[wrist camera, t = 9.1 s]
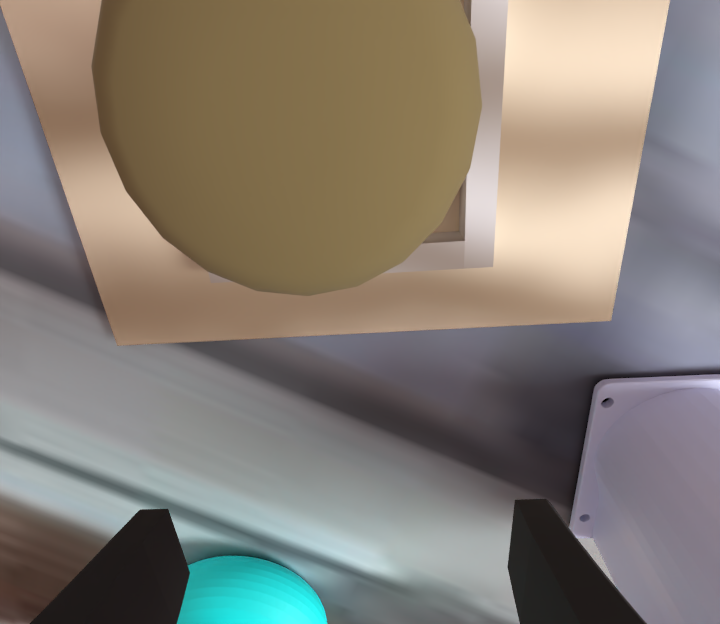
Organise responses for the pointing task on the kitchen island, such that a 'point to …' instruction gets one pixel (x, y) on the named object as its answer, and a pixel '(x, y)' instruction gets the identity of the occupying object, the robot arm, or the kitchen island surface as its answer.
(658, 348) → the kitchen island surface
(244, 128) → the cork
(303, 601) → the donuts
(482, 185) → the socket board
